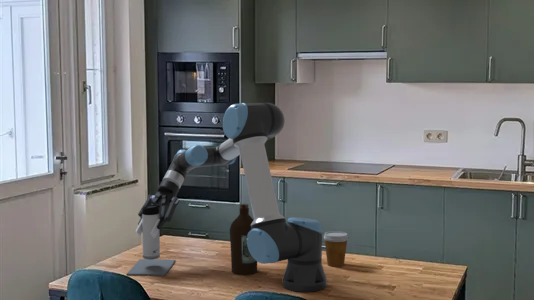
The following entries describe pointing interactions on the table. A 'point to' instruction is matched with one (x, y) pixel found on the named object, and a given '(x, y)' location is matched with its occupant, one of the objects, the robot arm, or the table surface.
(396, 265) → the table surface
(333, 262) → the disposable coffee cup
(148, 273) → the rubber mat
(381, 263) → the table surface
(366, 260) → the table surface
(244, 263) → the olive oil
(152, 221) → the travel mug
